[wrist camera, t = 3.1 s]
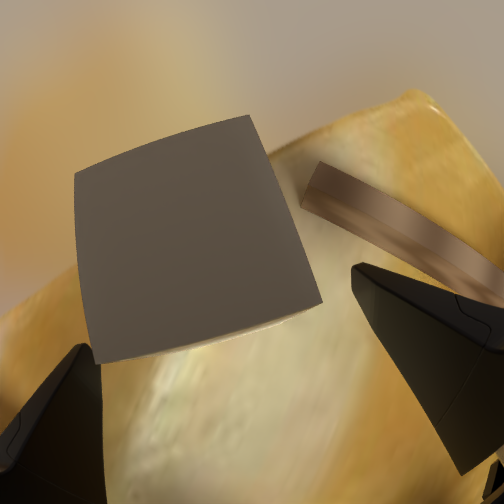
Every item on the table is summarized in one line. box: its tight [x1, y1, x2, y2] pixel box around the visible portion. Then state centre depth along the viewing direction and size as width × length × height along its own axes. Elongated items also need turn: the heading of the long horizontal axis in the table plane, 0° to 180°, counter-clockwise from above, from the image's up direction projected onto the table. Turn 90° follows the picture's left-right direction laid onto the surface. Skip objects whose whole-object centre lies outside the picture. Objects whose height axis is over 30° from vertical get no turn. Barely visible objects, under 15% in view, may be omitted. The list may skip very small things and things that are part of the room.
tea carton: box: [74, 115, 323, 365], centre depth 12 cm, size 6×6×12 cm
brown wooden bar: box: [301, 161, 504, 308], centre depth 17 cm, size 18×3×3 cm, turn 62°
